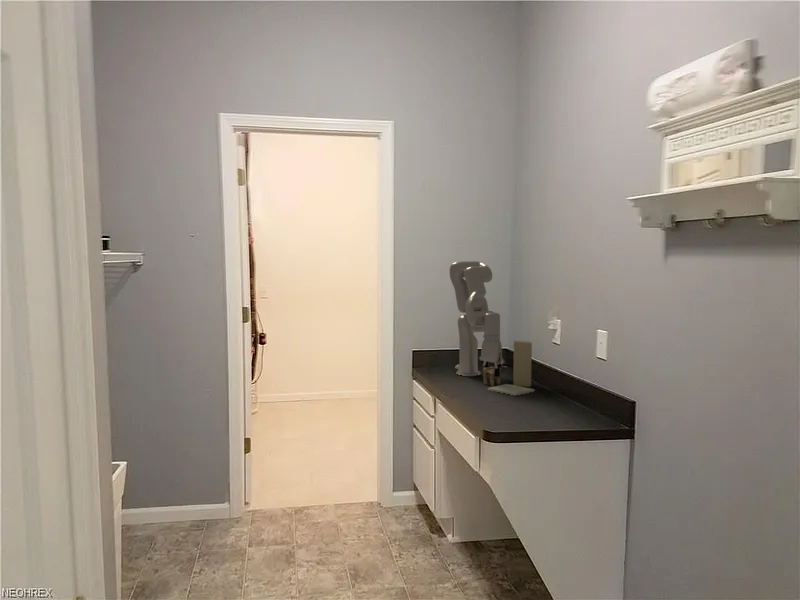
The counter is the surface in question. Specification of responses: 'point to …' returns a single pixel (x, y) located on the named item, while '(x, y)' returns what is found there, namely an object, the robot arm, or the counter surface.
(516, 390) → the sage mat
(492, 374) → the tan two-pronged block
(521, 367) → the beige block
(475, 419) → the counter surface
